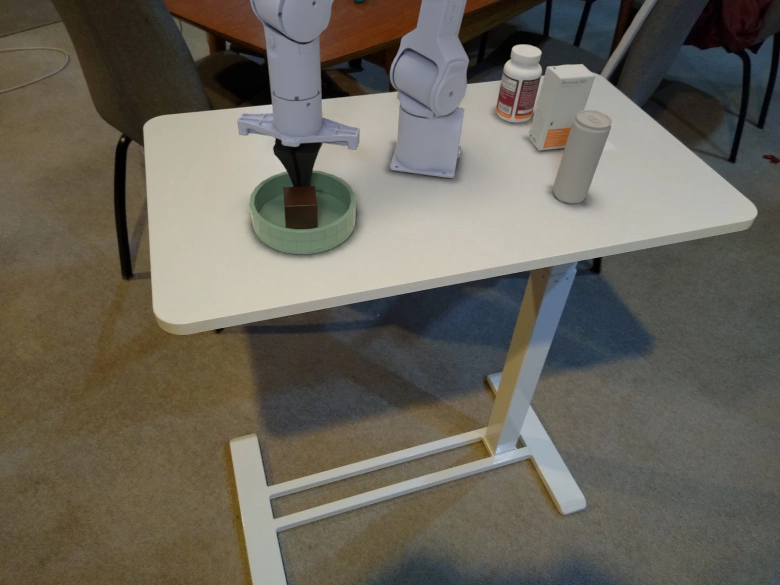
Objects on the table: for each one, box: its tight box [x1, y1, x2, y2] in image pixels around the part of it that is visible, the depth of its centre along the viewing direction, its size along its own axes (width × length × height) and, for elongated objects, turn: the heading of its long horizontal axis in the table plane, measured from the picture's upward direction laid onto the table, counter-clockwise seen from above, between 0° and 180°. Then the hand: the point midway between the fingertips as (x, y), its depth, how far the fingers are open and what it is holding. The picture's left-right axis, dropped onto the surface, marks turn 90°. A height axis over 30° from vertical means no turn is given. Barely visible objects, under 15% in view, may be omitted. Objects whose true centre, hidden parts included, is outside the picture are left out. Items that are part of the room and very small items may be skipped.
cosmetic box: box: [528, 63, 596, 152], centre depth 87 cm, size 6×4×12 cm
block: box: [283, 186, 318, 229], centre depth 72 cm, size 4×4×4 cm
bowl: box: [248, 169, 357, 255], centre depth 73 cm, size 13×13×4 cm
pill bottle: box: [495, 44, 543, 123], centre depth 94 cm, size 6×6×11 cm
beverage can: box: [552, 109, 613, 204], centre depth 78 cm, size 5×5×12 cm
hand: (302, 188), depth 75 cm, fingers closed
